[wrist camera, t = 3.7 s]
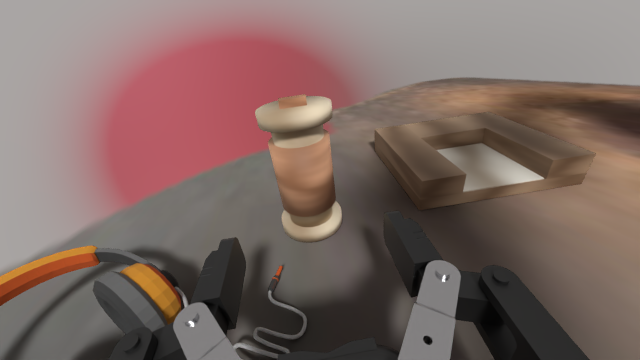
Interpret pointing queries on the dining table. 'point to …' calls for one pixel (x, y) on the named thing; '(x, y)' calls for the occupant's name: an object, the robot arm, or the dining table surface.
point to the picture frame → (477, 159)
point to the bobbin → (303, 165)
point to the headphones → (127, 290)
